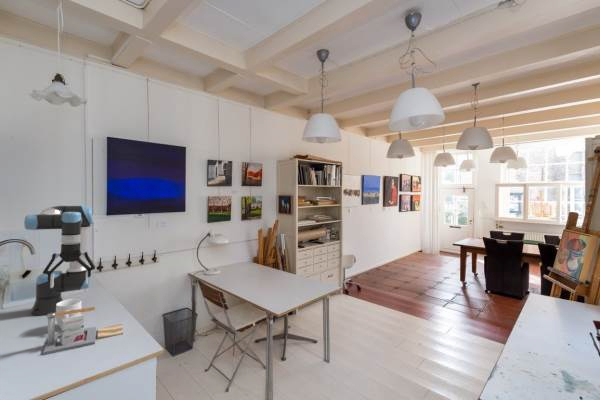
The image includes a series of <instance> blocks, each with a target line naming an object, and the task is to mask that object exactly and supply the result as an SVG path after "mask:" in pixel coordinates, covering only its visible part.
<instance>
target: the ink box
mask: <svg viewBox="0 0 600 400" xmlns="http://www.w3.org/2000/svg"><path fill="white" fill-rule="evenodd" d="M59 327H60V328H59V329H60V330H59V331H60V332H59V333H60V338H59V340H60V341H59V342H60V344H61V346H63V345H68V344H72V343H76V342H80V341H82V340H84V339H85V338H84V334H85V333H84V329H85V316H84V315H83V314H82V313H81V314H80V315H76V316H72V317H68V318H64V319H61V324H60V326H59Z"/></svg>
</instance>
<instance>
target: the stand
mask: <svg viewBox="0 0 600 400" xmlns="http://www.w3.org/2000/svg"><path fill="white" fill-rule="evenodd" d="M55 321H56V316H55V317H53V318H47V342H46V344H45V348H44V350H43V352H42V353H43V354H42V355H43V356H44V355H49V354H54V353H58V352H62V351H63V352H64V351H68V350H72V349H78V348H83V347H87V346H91V345H95V343H96V330H97V329H96V328H97V327H96V326H93V327H92V326H91V327H87V328H84V334H86V340H83V341H82V340H81V341H76V342H72V343H69V344H66V345H58V346H57V342H58V339H60V332H59V333H55Z"/></svg>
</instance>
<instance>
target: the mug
mask: <svg viewBox="0 0 600 400" xmlns="http://www.w3.org/2000/svg"><path fill="white" fill-rule="evenodd" d="M77 309H82V299H79V298H70V299H65V300H63V301H61V302H59V303H57V304H56V313H58V312H64V311H71V310H77ZM80 314H81V315H82V312H79V313H73V314H67V315H61V316H55V320H56V323H57V324H58V326H59V327H60V324H61V319H64V318H68V317H72V316H76V315H80Z"/></svg>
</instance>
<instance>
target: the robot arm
mask: <svg viewBox="0 0 600 400" xmlns="http://www.w3.org/2000/svg"><path fill="white" fill-rule="evenodd" d="M93 224H94V219H93V210H92V208H91V206H89V205H56V206H51V207H47V208H45V209H43V210H42V211H40V213H39V214H27V215H25V217H24V224H23V225H24V228H25V230H29V231H31V230H32V231H35V230H37V231H39V230H40V231H41V230H61V235H60V236H61V237H60V239H61V240H60V241H61V242H60V243H61V245H60V253H56V252H54V253H53V254H52V255H51V259H50V261H49V262H48V263H47V265H46V267H45V268H44V269H43V271H42V273H41V274H40V275H38V276H37V277H36V282H35V285H36V286H35V288H36V290H35V292H36V293H35V301H34V303H33V306H32V307H31V315H33V316H47V314H49V313H53V312H55V313H56V304H57V303H59V302H61V301H64V300H63V297H62V293H65V292H66V293H67V292H73V291H81V290H87V289H88V288H89V287H90V281H91V277H92V271H93V270H95V269H96V265H95V264H94V263H93V261H92V259H91V258H90V255H89V251H88V250H87V249H88V229H89V228H90V227H91V225H93ZM58 258H60V261H58V262H57V263H56V264H55V265H54V266H53V267H52V268H51V269H50V267H51V266H52V265H53V264H54V262H55V260H56V259H58ZM64 262H65V263H69V265H68V266H69V267H68V268H67V269H66V271H65V272H63V271H61V270H56V269H58V267H60V266H61V265H62V263H64ZM87 263H88V264H89V265H88V264H87Z"/></svg>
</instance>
